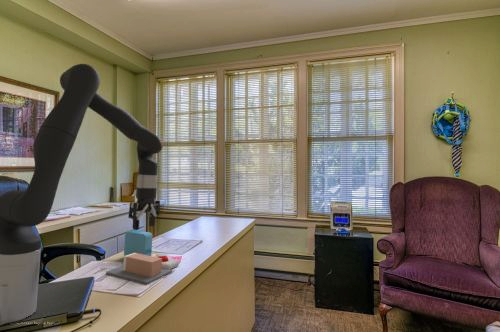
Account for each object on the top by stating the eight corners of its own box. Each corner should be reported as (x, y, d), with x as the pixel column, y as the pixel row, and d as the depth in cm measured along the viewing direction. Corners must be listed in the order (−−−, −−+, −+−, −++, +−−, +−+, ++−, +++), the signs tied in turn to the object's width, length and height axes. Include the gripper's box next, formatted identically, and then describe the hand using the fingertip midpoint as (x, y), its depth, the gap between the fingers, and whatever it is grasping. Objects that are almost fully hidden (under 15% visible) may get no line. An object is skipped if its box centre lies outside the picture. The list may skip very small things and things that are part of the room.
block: (161, 272, 107) (133, 266, 113) (162, 258, 107) (134, 252, 113) (151, 277, 102) (123, 270, 107) (152, 262, 102) (123, 256, 108)
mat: (147, 284, 97) (147, 282, 97) (105, 274, 105) (106, 271, 105) (172, 272, 110) (172, 270, 110) (134, 263, 118) (134, 261, 118)
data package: (151, 259, 125) (153, 232, 125) (144, 262, 121) (145, 234, 121) (131, 255, 129) (132, 229, 130) (123, 257, 125) (125, 231, 125)
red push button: (183, 255, 121) (168, 261, 111) (182, 265, 120) (167, 272, 111) (160, 250, 125) (144, 256, 116) (160, 260, 125) (144, 266, 116)
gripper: (152, 185, 116) (149, 224, 116) (125, 186, 103) (122, 229, 103) (166, 186, 114) (163, 226, 113) (140, 187, 100) (137, 232, 100)
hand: (144, 227), depth 108 cm, fingers open, 8 cm apart
